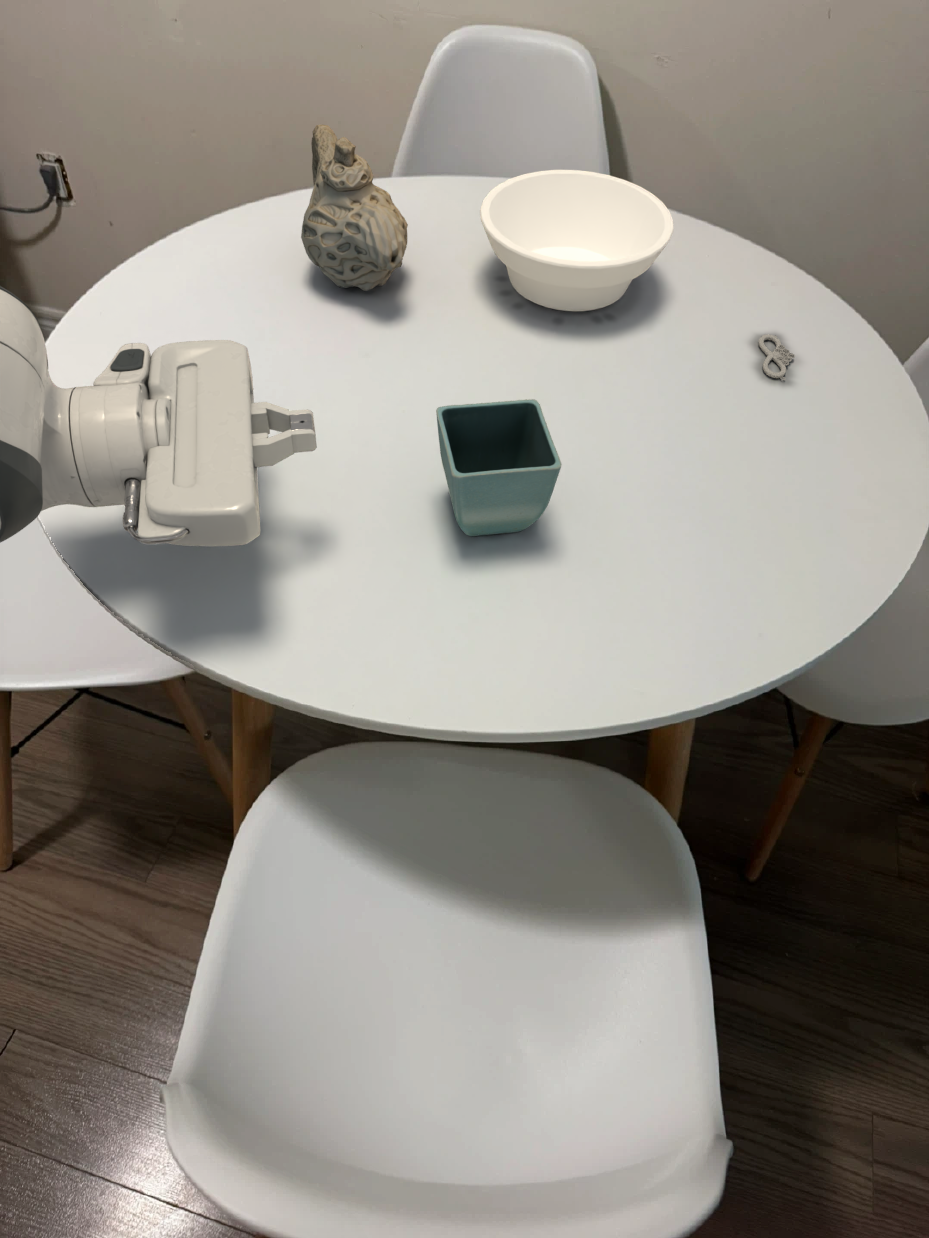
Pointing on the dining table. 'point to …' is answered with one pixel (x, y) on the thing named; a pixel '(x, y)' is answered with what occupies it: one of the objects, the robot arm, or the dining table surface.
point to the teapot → (350, 217)
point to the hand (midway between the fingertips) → (315, 429)
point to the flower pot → (497, 464)
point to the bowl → (574, 235)
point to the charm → (775, 356)
